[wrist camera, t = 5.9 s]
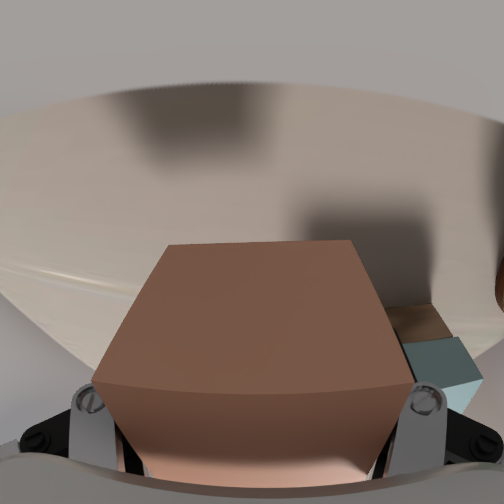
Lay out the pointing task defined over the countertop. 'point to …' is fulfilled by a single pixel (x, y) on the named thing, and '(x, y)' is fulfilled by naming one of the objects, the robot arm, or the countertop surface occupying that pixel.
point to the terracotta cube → (256, 366)
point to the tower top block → (446, 369)
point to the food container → (500, 286)
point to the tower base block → (417, 323)
